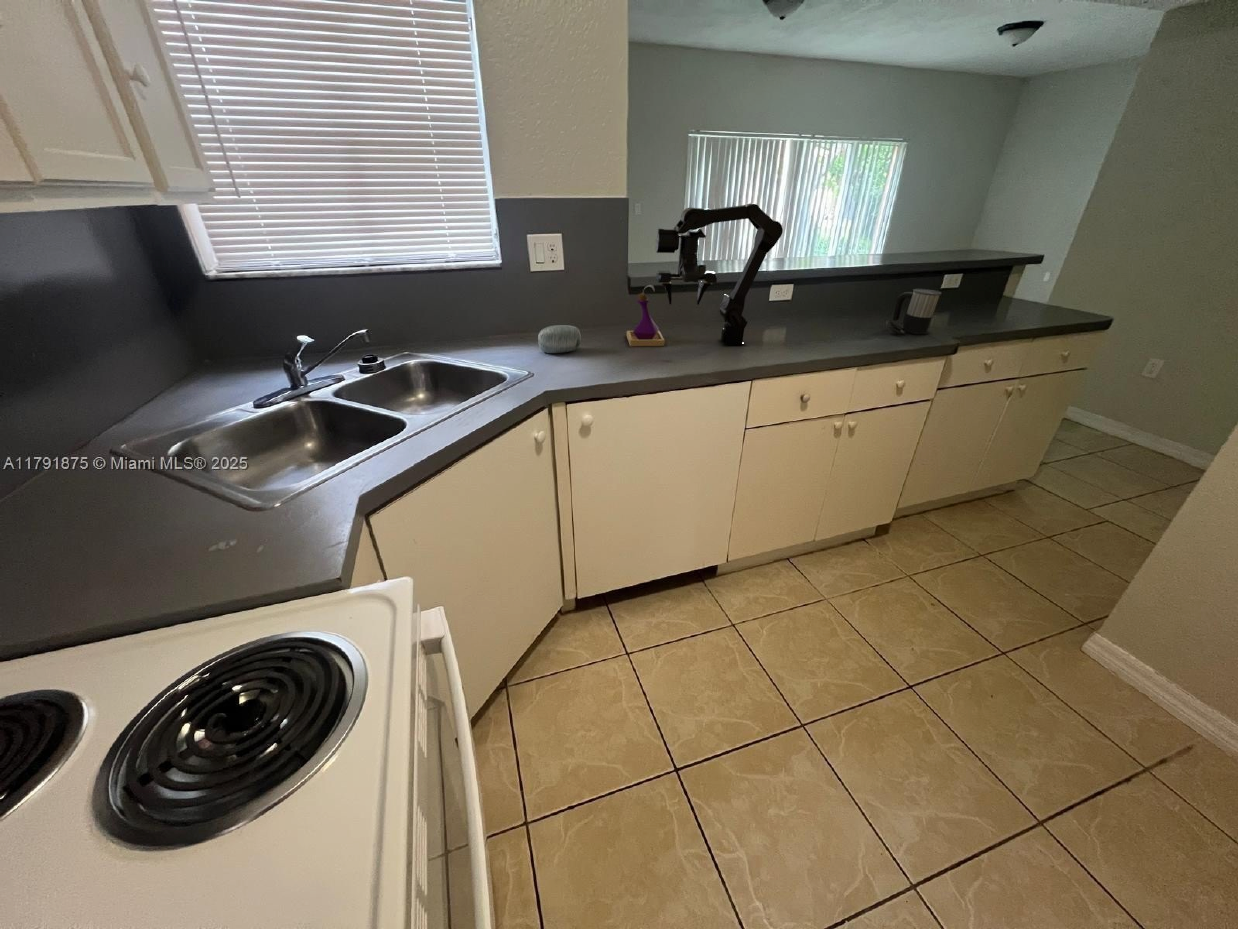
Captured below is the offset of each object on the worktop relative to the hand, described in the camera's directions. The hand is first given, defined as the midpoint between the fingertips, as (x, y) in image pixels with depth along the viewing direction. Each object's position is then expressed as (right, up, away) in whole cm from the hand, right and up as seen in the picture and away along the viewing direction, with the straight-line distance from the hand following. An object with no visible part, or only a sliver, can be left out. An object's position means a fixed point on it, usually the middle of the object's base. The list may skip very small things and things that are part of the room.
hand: (684, 304), depth 160 cm
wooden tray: (-12, -10, +8) cm, 18 cm away
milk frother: (+87, -3, +24) cm, 91 cm away
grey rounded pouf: (-40, -16, -3) cm, 44 cm away
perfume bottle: (-12, -10, +8) cm, 18 cm away
